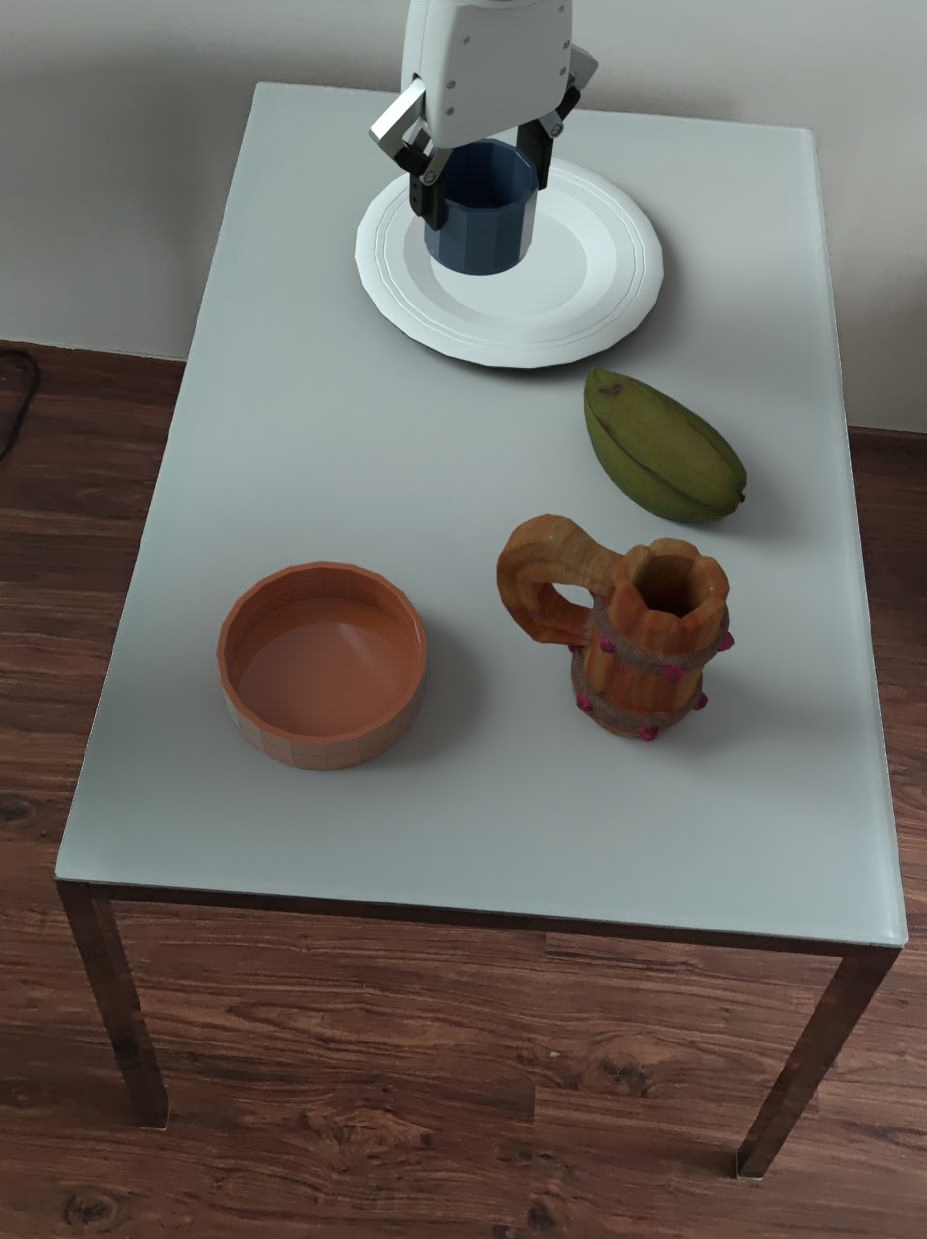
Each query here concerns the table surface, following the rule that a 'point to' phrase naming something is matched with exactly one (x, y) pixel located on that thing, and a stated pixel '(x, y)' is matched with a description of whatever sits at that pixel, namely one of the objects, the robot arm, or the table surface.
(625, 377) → the fruit
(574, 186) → the plate
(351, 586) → the big bowl
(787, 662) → the table surface
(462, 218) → the small bowl
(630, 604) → the mug
